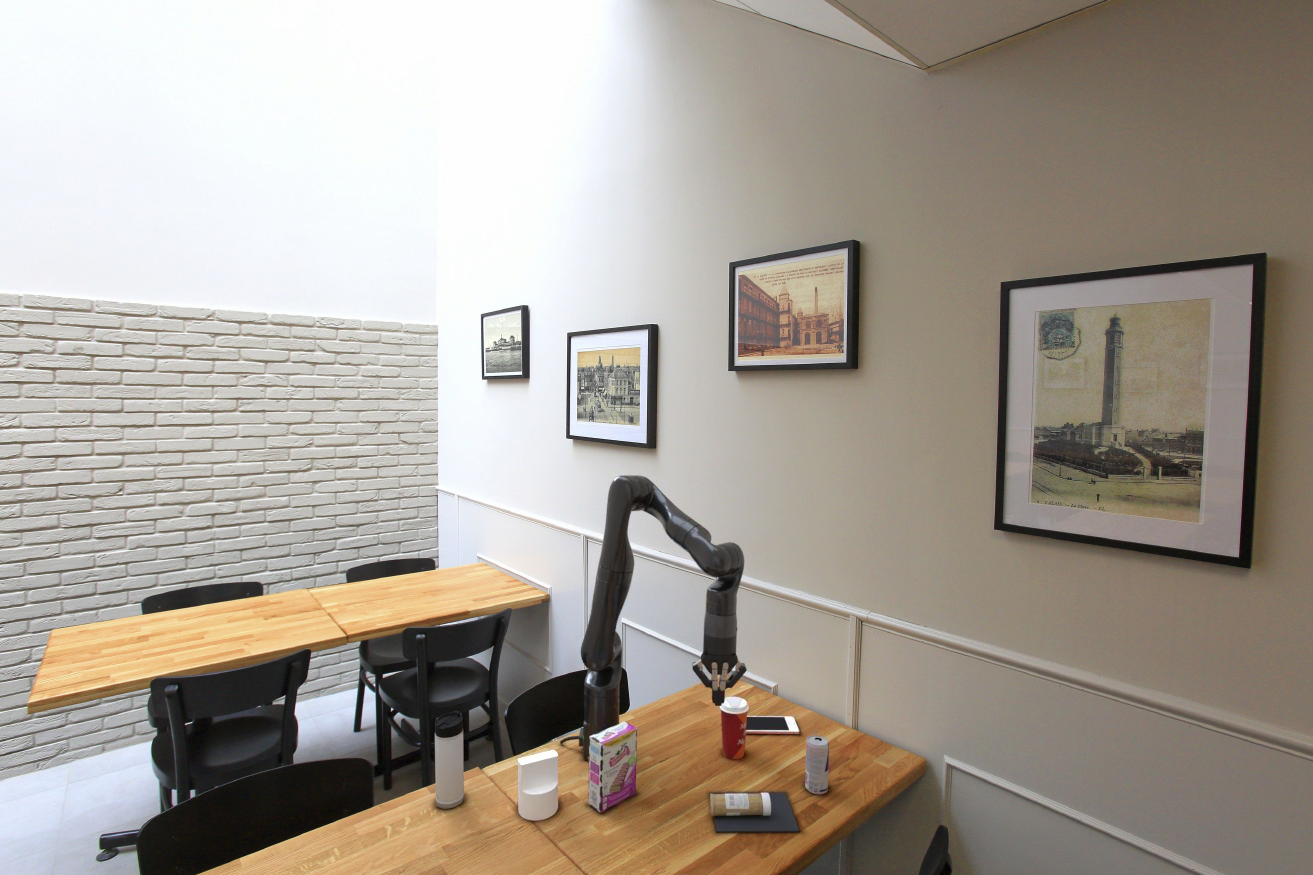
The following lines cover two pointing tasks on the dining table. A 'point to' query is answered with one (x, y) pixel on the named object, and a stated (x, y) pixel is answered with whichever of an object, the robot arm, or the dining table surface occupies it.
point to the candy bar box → (612, 766)
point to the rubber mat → (760, 818)
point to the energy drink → (817, 764)
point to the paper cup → (734, 726)
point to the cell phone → (771, 725)
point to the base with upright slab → (538, 785)
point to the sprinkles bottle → (740, 804)
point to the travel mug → (449, 760)
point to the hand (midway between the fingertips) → (717, 704)
